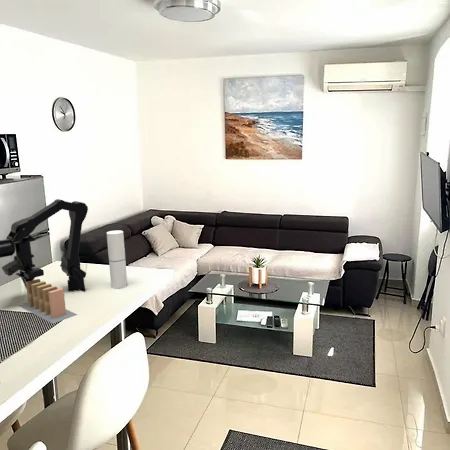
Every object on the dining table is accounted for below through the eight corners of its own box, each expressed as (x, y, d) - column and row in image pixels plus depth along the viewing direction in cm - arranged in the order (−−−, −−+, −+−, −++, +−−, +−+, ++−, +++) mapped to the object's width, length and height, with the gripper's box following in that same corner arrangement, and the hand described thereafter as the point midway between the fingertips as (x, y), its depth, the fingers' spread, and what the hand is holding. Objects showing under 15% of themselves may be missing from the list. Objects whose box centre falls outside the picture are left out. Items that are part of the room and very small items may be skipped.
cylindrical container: (113, 289, 193) (108, 234, 188) (109, 285, 199) (104, 231, 194) (129, 286, 196) (125, 232, 191) (125, 282, 203) (120, 229, 197)
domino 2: (34, 308, 172) (31, 284, 170) (46, 304, 176) (43, 281, 174) (36, 309, 171) (33, 285, 169) (48, 305, 175) (45, 281, 173)
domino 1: (28, 305, 175) (25, 282, 173) (40, 302, 179) (38, 278, 177) (31, 306, 174) (27, 283, 172) (43, 303, 178) (40, 279, 176)
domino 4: (45, 314, 167) (42, 289, 165) (57, 310, 170) (54, 285, 168) (47, 315, 165) (44, 290, 163) (59, 311, 169) (57, 286, 167)
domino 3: (39, 311, 170) (36, 286, 167) (51, 307, 173) (49, 283, 171) (41, 312, 168) (38, 287, 166) (54, 308, 172) (51, 284, 170)
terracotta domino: (51, 317, 164) (48, 291, 162) (63, 312, 167) (61, 288, 165) (53, 318, 163) (50, 292, 160) (66, 314, 166) (63, 289, 164)
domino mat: (18, 307, 176) (18, 305, 176) (42, 299, 184) (42, 297, 184) (52, 325, 158) (52, 323, 158) (77, 316, 166) (77, 314, 165)
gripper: (-7, 253, 176) (-2, 290, 179) (13, 261, 164) (18, 300, 167) (20, 247, 184) (25, 283, 187) (42, 255, 172) (46, 292, 175)
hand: (28, 289), depth 179 cm, fingers closed
